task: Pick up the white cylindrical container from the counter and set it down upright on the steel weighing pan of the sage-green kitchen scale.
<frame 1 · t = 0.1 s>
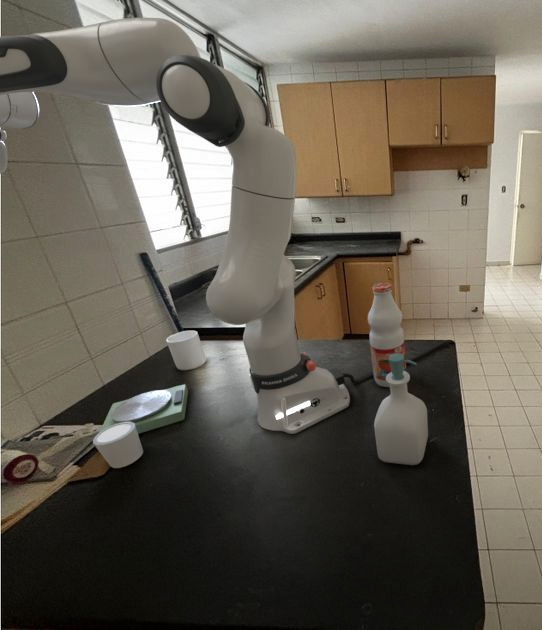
white cylindrical container: (127, 458, 72), on the worktop
scale: (149, 415, 85), on the worktop
scale pan: (142, 405, 84), point 3 cm above the worktop, slide at 0.0 cm
fruit juice: (390, 379, 96), on the worktop
soap bottle: (403, 450, 71), on the worktop
cup: (188, 363, 109), on the worktop
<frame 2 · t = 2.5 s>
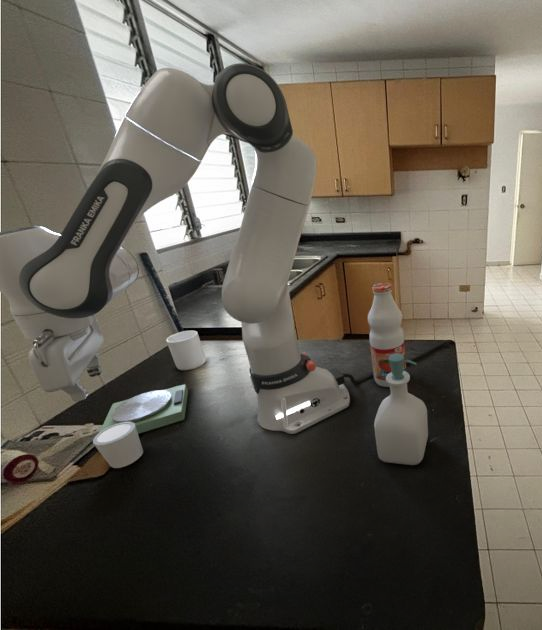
hand: (89, 385, 65), 19 cm above the worktop, tool pointing down, fingers open, 8 cm apart
nothing on the worktop moved.
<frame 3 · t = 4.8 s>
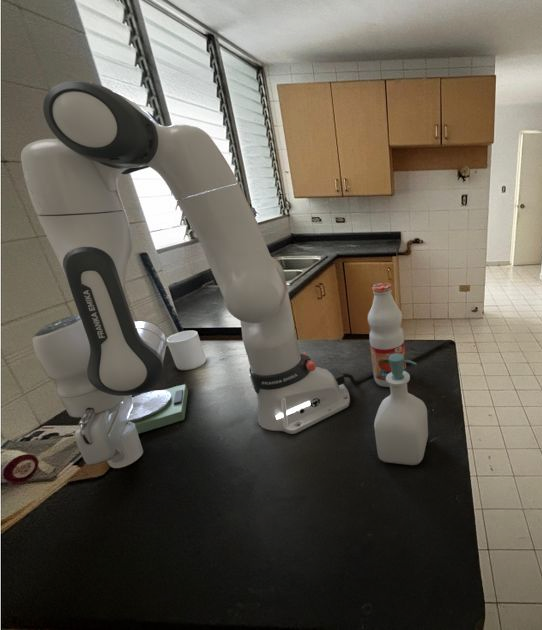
hand: (123, 449, 71), 2 cm above the worktop, tool pointing down, fingers closed on white cylindrical container, 5 cm apart
white cylindrical container: (127, 458, 72), on the worktop, touching gripper
everything else where it was.
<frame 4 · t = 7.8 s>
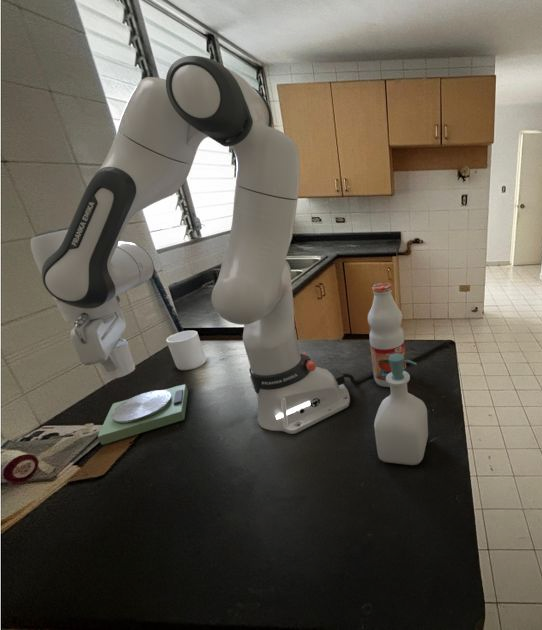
hand: (116, 363, 76), 17 cm above the worktop, tool pointing down, fingers closed on white cylindrical container, 5 cm apart
white cylindrical container: (120, 373, 77), point 15 cm above the worktop, touching gripper
everything else where it was.
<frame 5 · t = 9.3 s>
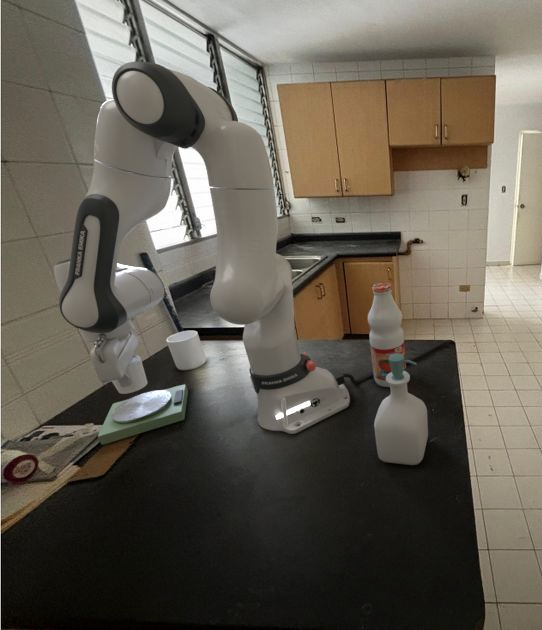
hand: (130, 378, 81), 11 cm above the worktop, tool pointing down, fingers closed on white cylindrical container, 5 cm apart
white cylindrical container: (133, 387, 82), point 9 cm above the worktop, touching gripper
everything else where it was.
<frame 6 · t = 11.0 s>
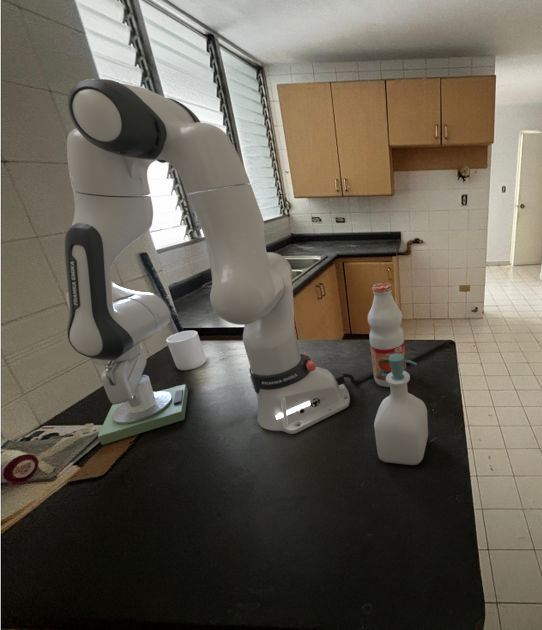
hand: (139, 398, 83), 6 cm above the worktop, tool pointing down, fingers closed on white cylindrical container, 5 cm apart
white cylindrical container: (142, 406, 84), point 3 cm above the worktop, touching gripper, scale pan
scale pan: (143, 406, 84), point 3 cm above the worktop, slide at -0.3 cm, touching white cylindrical container
everything else where it was.
when the fingers open (6 cm above the worktop, at t = 11.0 s): white cylindrical container stays where it is, resting on scale pan.
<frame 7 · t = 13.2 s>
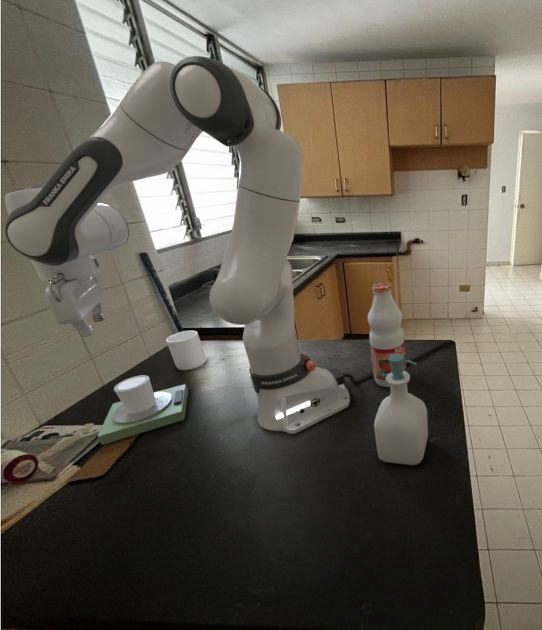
hand: (94, 327, 76), 25 cm above the worktop, tool pointing down, fingers open, 8 cm apart
white cylindrical container: (142, 406, 84), point 3 cm above the worktop, touching scale pan
everything else where it was.
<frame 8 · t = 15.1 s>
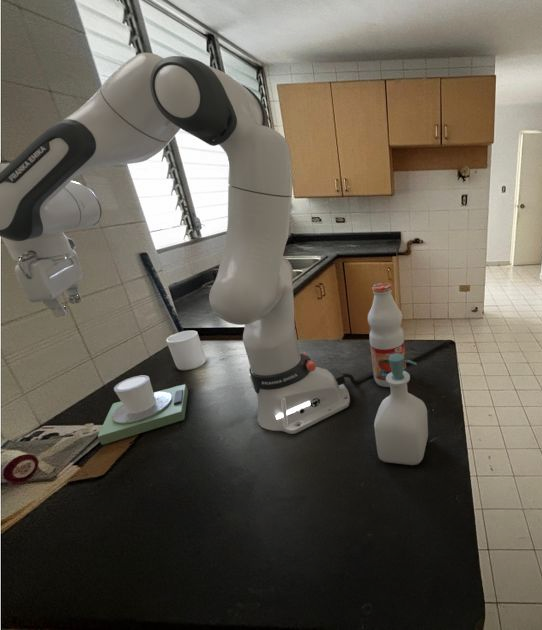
hand: (69, 308, 76), 29 cm above the worktop, tool pointing down, fingers open, 8 cm apart
nothing on the worktop moved.
at the end: white cylindrical container inside the target area on the scale (0.1 cm from its centre), point 3.0 cm above the scale's base; white cylindrical container tilted 0° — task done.
